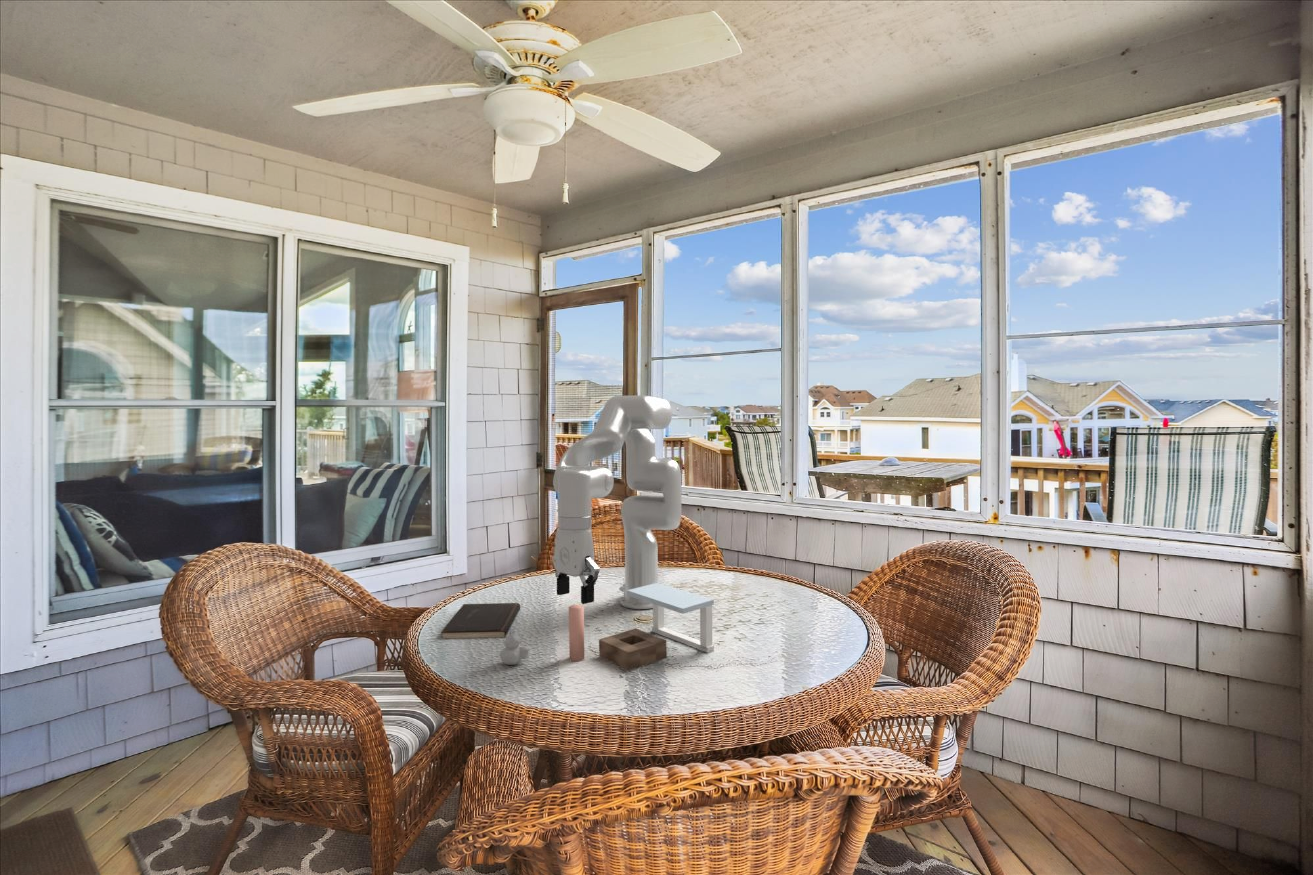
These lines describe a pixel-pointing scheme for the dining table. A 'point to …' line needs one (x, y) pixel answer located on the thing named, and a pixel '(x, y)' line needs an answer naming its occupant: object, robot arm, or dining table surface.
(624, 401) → the robot arm
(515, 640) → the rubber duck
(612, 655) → the socket block
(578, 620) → the peg
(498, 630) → the hardcover book
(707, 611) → the small white step stool
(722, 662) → the dining table surface
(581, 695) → the dining table surface
